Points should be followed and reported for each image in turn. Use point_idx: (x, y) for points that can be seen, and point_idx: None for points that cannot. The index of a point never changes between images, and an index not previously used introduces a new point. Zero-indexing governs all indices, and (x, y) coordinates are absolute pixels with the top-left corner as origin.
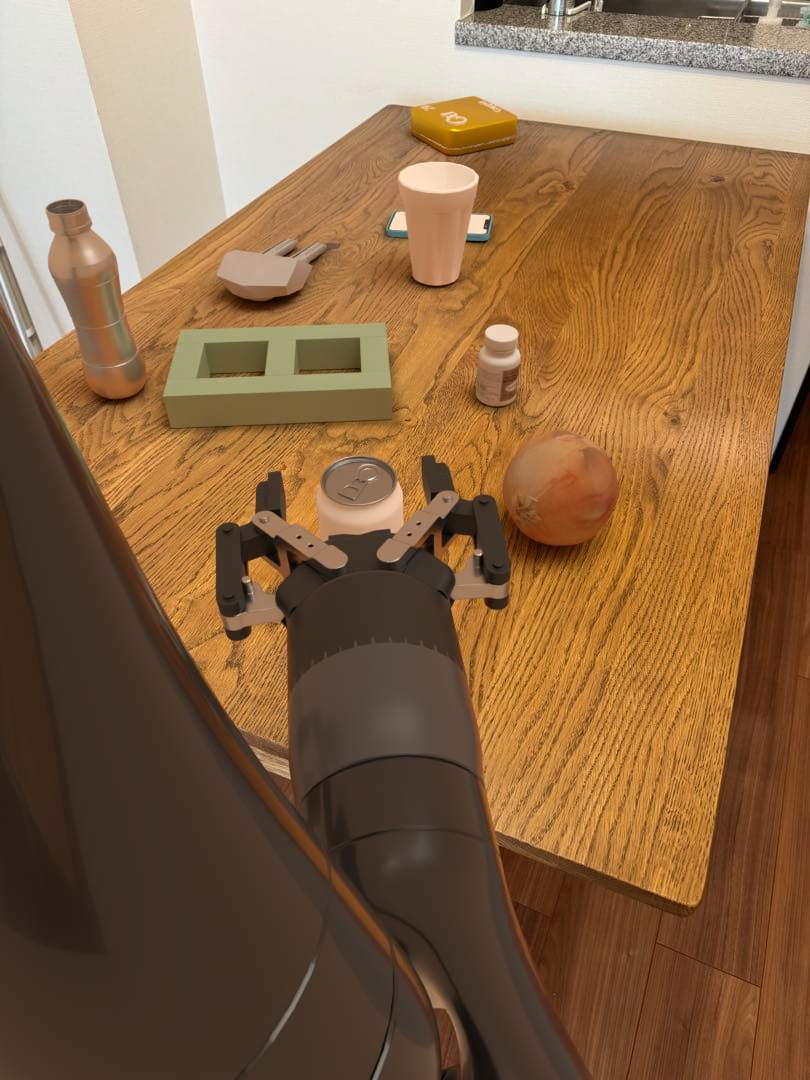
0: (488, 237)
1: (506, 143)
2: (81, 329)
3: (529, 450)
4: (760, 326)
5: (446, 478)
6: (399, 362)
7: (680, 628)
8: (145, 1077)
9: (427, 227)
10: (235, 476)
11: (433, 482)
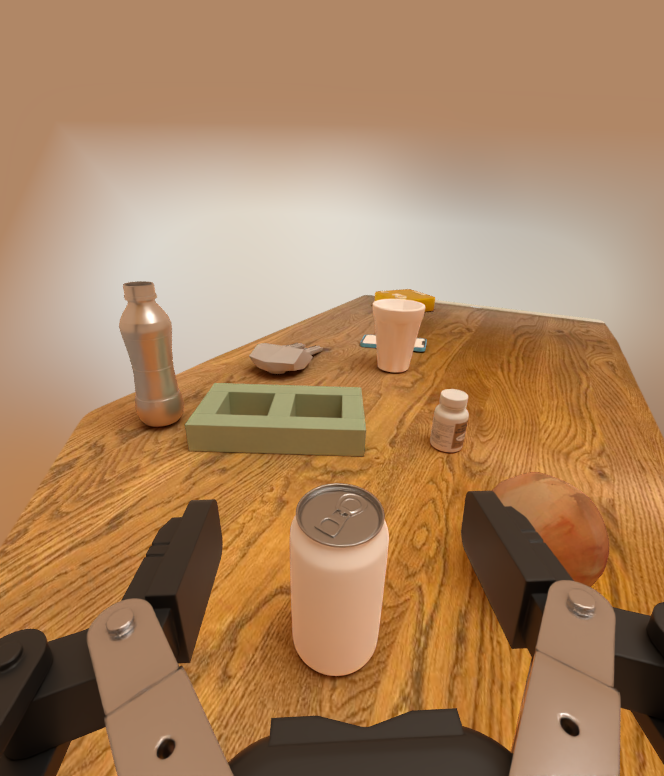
0: (425, 349)
1: (428, 310)
2: (136, 372)
3: (511, 491)
4: (634, 410)
5: (532, 541)
6: (369, 416)
7: None
8: None
9: (390, 333)
10: (228, 494)
11: (520, 552)
